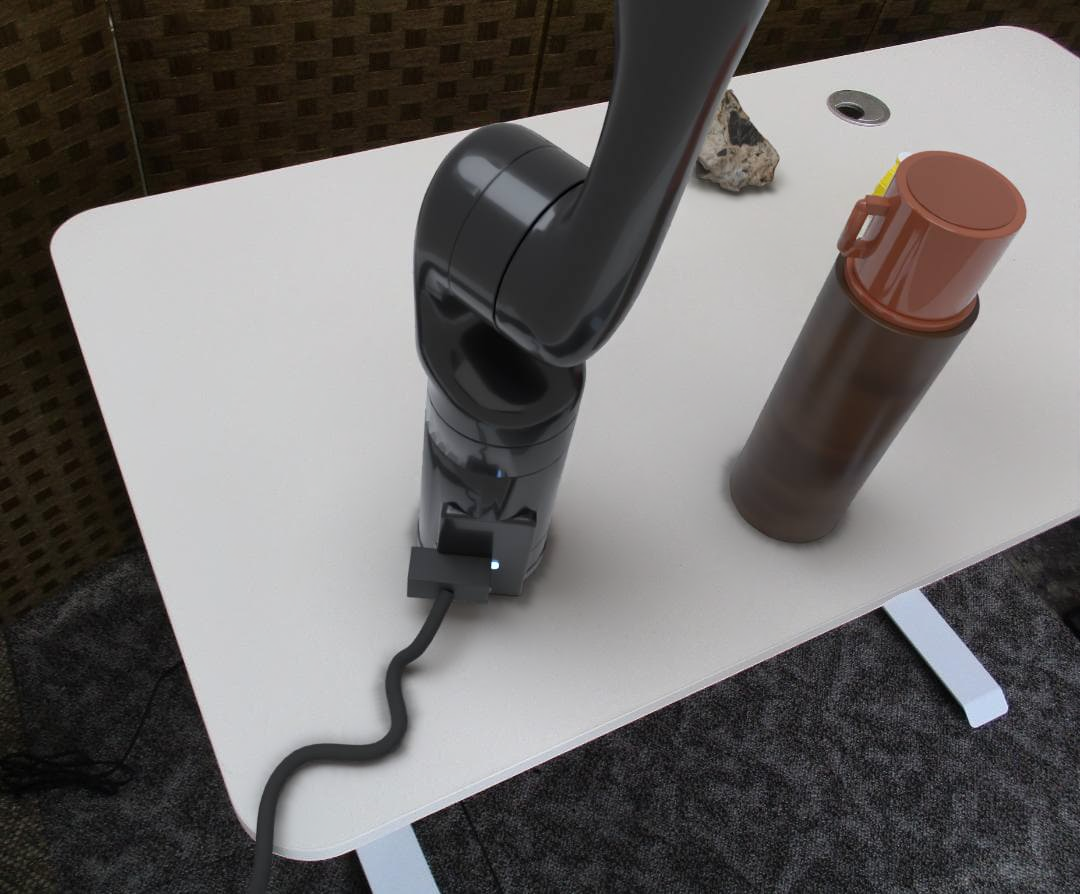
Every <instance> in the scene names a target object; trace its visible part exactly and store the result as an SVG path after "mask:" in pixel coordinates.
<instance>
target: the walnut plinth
mask: <svg viewBox="0 0 1080 894" xmlns="http://www.w3.org/2000/svg"><path fill="white" fill-rule="evenodd" d="M861 238H862V236H861V237H857V238H856V239H857V240H860V239H861ZM845 259H846V257H843V256H842V253H841V252H840V251H839V252H838V255H837V256H836V258H835V261H834V262H833V265H832V267H831V268H830V270H829V273H828V275H827V277H826V279H825V281H824V283H823V285H822V286H821V289H820V291H819V293H818V295H817V297H816V299H815V302H814V304H813V305H812V307H811V309H810V311H809V314H808V316H807V317H806V320H805V321H804V324H803V326H802V327H801V330H800V332H799V334H798V336H797V338H796V340H795V342H794V344H793V346H792V349H791V350H790V352H789V354H788V356H787V358H786V360H785V362H784V365H783V366H782V368H781V370H780V373H779V374H778V377H777V379H776V380H775V383H774V385H773V387H772V389H771V391H770V393H769V394H768V397H767V399H766V401H765V403H764V405H763V407H762V410H761V411H760V413H759V415H758V418H757V420H756V421H755V423H754V426H753V427H752V430H751V432H750V434H749V436H748V437H747V440H746V442H745V444H744V445H743V448H742V450H741V452H740V454H739V456H738V458H737V460H736V462H735V464H734V467H733V468H732V470H731V474H730V477H729V491H730V494H731V495H730V496H731V498H732V502H733V504H734V506H735V507H736V509H737V510H738V512H739V513H740V515H741V516H742V517H743V519H744V520H745V521H746V522H747V523H749V525H751V526H752V527H753V528H754V529H756V530H758V531H759V532H761V533H762V534H764V535H766V536H768V537H770V538H773V539H776V540H778V541H783V542H787V543H795V544H796V543H798V544H799V543H809V542H814V541H816V540H819V539H821V538H823V537H825V536H826V535H827V534H829V533H830V532H831V531H832V530H833V529H834V528H835V527H836V526H837V524H838V522H839V521H840V520H841V518H842V517H843V515H844V513H845V512H846V511H847V509H848V508H849V506H851V504H852V502H853V501H854V499H855V498H856V496H857V495H858V494H859V492H860V491H861V489H862V487H863V486H864V485H865V483H866V481H867V480H869V478H870V476H871V474H872V473H873V471H874V470H875V468H876V467H877V465H878V464H879V463H880V461H881V460H882V458H883V457H884V455H885V454H886V453H887V451H888V450H889V448H890V447H891V445H892V444H893V442H894V441H895V440H896V438H897V437H898V435H899V433H900V432H901V430H902V429H903V428H904V426H905V425H906V423H907V422H908V421H909V420H910V418H911V416H912V415H913V413H915V411H916V409H917V407H918V406H919V404H920V403H921V401H922V400H923V399H924V397H925V395H927V393H928V392H929V390H930V388H931V387H932V386H933V384H934V383H935V381H936V379H937V378H938V377H939V375H941V373H942V371H943V369H945V367H946V365H947V364H948V362H949V361H950V360H951V358H952V356H953V355H954V353H955V352H956V351H957V349H958V347H960V345H961V343H962V342H963V340H964V339H965V337H966V336H967V335H968V333H969V332H970V331H971V329H972V328H973V326H974V324H975V323H976V321H977V320H978V317H979V315H980V309H981V303H980V296H979V292H978V293H977V298H976V304H975V306H974V308H973V310H972V312H971V313H970V315H969V316H968V318H967V319H966V320H965V321H964V322H963V323H961V324H960V325H958V326H956V327H954V328H952V329H949V330H945V331H939V332H921V331H915V330H910V329H906V328H902V327H900V326H897V325H894V324H892V323H890V322H887V321H885V320H884V319H882V318H880V317H878V316H877V315H875V314H874V313H872V312H871V311H870V310H868V309H867V308H866V307H865V306H863V305H862V304H861V303H860V302H859V301H858V299H857V298H856V297H855V296H854V295H853V293H852V292H851V290H850V289H849V287H848V284H847V282H846V279H845V276H844V263H845Z"/></svg>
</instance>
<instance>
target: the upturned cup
mask: <svg viewBox="0 0 1080 894" xmlns="http://www.w3.org/2000/svg"><path fill="white" fill-rule="evenodd" d="M868 216H871V219H870V220H869V222H868V225H867V227H866V229H865V230H864V233H863V234H862V236H861V237H862V238H861V237H860V238H861V239H860V240H857V239H858V236H859V235H860V232H861V230H862V228H863V226H864V224H865V222H866V221H867V219H868ZM1026 219H1027V205H1026V202H1025V199H1024V197H1023V195H1022V193H1021V192H1020V190H1019V189H1018V188H1017V186H1016V185H1015V184H1014V183H1013V182H1012V181H1011V180H1010V179H1009V178H1008V177H1006V176H1005V175H1004V174H1003V173H1002V172H1000V171H998V170H997V169H996V168H994V167H993V166H991V165H989V164H987V163H985V162H983V161H981V160H978V159H976V158H974V157H972V156H968V155H965V154H962V153H957V152H954V151H946V150H924V151H918V152H916V153H913V154H912V155H910V156H908V157H907V158H905V159H904V160H903V161H902V162H901V163H900V164H899V165H898V167H897V169H896V171H895V173H894V175H893V177H892V179H891V181H890V183H889V185H888V187H887V189H886V191H885V193H884V195H883V197H882V196H874V195H872V194H865V196H864V198H861V199H858V200H857V201H856V202H855V204H854V206H853V208H852V210H851V212H850V214H849V217H848V218H847V220H846V223H845V225H844V227H843V229H842V231H841V233H840V235H839V238H838V239H837V242H836V249H837V250H838V252H839V253H840V252H841V253H842V256H843V257H846V259H845V263H844V276H845V279H846V282H847V284H848V287H849V289H850V290H851V292H852V293H853V295H854V296H855V297H856V298H857V299H858V301H859V302H860V303H861V304H862V305H863V306H865V307H866V308H867V309H868V310H870V311H871V312H872V313H874V314H875V315H877V316H878V317H880V318H882V319H884V320H885V321H887V322H890V323H892V324H894V325H897V326H900V327H902V328H906V329H910V330H915V331H921V332H939V331H945V330H949V329H952V328H954V327H956V326H958V325H960V324H961V323H963V322H964V321H965V320H966V319H967V318H968V316H969V315H970V313H971V312H972V310H973V308H974V306H975V304H976V298H977V293H978V294H979V292H980V291H981V289H982V287H983V286H984V284H985V283H986V281H987V280H988V278H989V277H990V275H991V274H992V272H993V270H994V269H995V268H996V266H997V265H998V263H999V262H1000V260H1001V259H1002V257H1003V256H1004V255H1005V253H1006V251H1007V250H1008V248H1009V247H1010V245H1011V244H1012V242H1013V241H1014V239H1015V238H1016V236H1017V235H1018V233H1019V232H1020V230H1021V229H1022V227H1023V226H1024V225H1025V222H1026Z"/></svg>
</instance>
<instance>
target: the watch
mask: <svg viewBox="0 0 1080 894" xmlns="http://www.w3.org/2000/svg"><path fill="white" fill-rule="evenodd" d="M912 154H914V153H913V152H910V151H903V152H900V153H899V154H898V155H897V157H896V159H895V165H894V166H892V167H891V168H890V169H889V170H888V171H887V172H886V173H885V174H884V175H883V176H882V178H881V179H880V180H879V182H878V183H877V185H876V186H875V189H874V190H873V192H872V194H871V195H874V196H882V197H883V195H884V193H885V191H886V189H887V187H888V185H889V183H890V181H891V179H892V177H893V175H894V173H895V171H896V169H897V167H898V165H899V164H900V163H901V162H902V161H903V160H904V159H905V158H907V157H908V156H910V155H912Z"/></svg>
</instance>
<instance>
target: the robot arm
mask: <svg viewBox="0 0 1080 894" xmlns="http://www.w3.org/2000/svg"><path fill="white" fill-rule="evenodd" d="M612 1H613V2H612V3H613V23H614V57H613V58H614V61H613V71H612V72H613V73H612V81H611V88H610V94H609V98H608V102H607V108H606V112H605V115H604V118H603V119H604V120H603V123H602V128H601V130H600V134H599V137H598V140H597V144H596V147H595V149H594V154H593V156H592V159H591V162H590V164H589V166H588V165H586V164H584V163H583V162H582V161H580V160H578V159H577V158H575V157H574V156H573V155H571V154H569V153H568V152H566V151H565V150H563V148H561V147H559V146H558V145H557V144H554V143H553V142H552V141H550V140H548V139H547V138H545V137H544V136H542V135H541V134H539V133H537V132H536V131H534V130H533V129H531V128H528V127H526V126H524V125H522V124H518V123H512V122H506V121H505V122H495V123H490V124H487V125H483V126H481V127H479V128H478V129H475V130H473V131H472V132H470V133H469V134H467V135H466V136H465V137H463V138H462V139H461V140H460V141H458V143H457V144H455V145H454V147H452V148H451V150H450V151H448V153H447V154H446V155H445V156H444V158H443V159H442V160H441V162H440V163H439V165H438V167H437V169H435V172H434V174H433V176H432V178H431V180H430V182H429V183H428V186H427V188H426V190H425V193H424V196H423V199H422V201H421V204H420V209H419V211H418V216H417V221H416V225H415V230H414V238H413V251H412V288H413V311H414V341H415V350H416V354H417V358H418V361H419V363H420V366H421V368H422V370H423V372H424V374H425V375H426V395H425V396H426V397H425V409H424V425H423V426H424V427H423V428H424V429H423V443H422V463H421V477H420V478H421V479H420V480H421V481H420V496H419V497H420V498H419V516H418V520H417V526H416V527H417V528H416V541H417V546H415V545H413V546H411V547H410V557H409V563H408V571H407V572H408V573H407V582H406V598H413V599H414V598H415V599H427V600H434V603H433V604H432V606H431V608H430V611H429V613H428V614H427V617H426V619H425V621H424V623H423V625H422V627H421V629H420V630H419V632H418V633H417V635H416V636H415V638H414V639H413V640H412V642H411V643H410V644H409V645H407V646H406V647H404V648H403V649H402V650H400V651H398V652H397V653H396V654H395V655H394V656H393V657H392V659H391V660H390V662H389V664H388V667H387V670H386V673H385V679H384V681H385V683H384V685H385V694H386V700H387V703H388V707H389V712H390V718H391V725H390V728H389V731H388V732H387V733H386V734H385V735H384V736H383V737H382V738H381V739H379V740H377V741H375V742H372V743H368V744H367V743H366V744H347V743H335V742H334V743H331V742H329V743H328V742H324V743H323V742H321V743H313V744H309V745H308V744H307V745H304V746H302V747H300V748H297V749H295V750H293V751H292V752H291V753H289V754H288V755H287V756H286V757H284V758H283V759H282V761H280V763H278V765H277V766H276V767H275V768H274V770H273V771H272V773H271V774H270V776H269V778H268V780H267V782H266V784H265V786H264V789H263V791H262V794H261V796H260V801H259V805H258V809H257V810H258V811H257V818H256V829H255V843H254V844H255V845H254V857H253V866H252V872H251V876H250V882H249V885H248V890H247V894H267V890H268V886H269V881H270V875H271V870H272V862H273V853H274V835H275V834H274V832H275V821H276V819H275V818H276V811H277V806H278V805H277V804H278V800H279V797H280V795H281V792H282V789H283V787H284V785H285V784H286V783H287V781H288V779H290V777H291V776H292V775H293V774H294V773H295V772H296V770H298V769H299V768H301V767H302V766H304V765H307V764H308V763H312V762H317V761H336V762H354V763H355V762H357V763H358V762H362V763H363V762H370V761H375V760H379V759H381V758H383V757H385V756H387V755H388V754H390V753H391V752H393V751H394V750H395V749H396V748H397V747H398V746H399V745H400V743H401V741H402V740H403V739H404V736H405V735H406V731H407V728H408V712H407V707H406V703H405V699H404V695H403V691H402V676H403V672H404V670H405V669H406V667H407V666H408V665H409V664H411V663H412V662H415V661H416V660H417V659H419V658H420V657H421V656H422V655H423V654H424V653H425V652H426V650H427V649H428V648H429V646H430V645H431V643H432V642H433V640H434V638H435V637H436V635H437V633H438V630H439V629H440V628H441V625H442V623H443V621H444V619H445V617H446V614H447V612H448V610H449V608H450V606H451V604H452V602H460V603H470V604H480V605H487V604H488V600H489V597H490V596H489V595H490V594H496V595H507V596H521V595H522V591H523V589H524V588H523V587H524V582H525V580H527V579H528V578H529V577H531V575H532V574H533V573H534V572H536V570H537V568H538V567H539V565H540V563H541V562H542V559H543V557H544V554H545V550H546V547H547V539H548V532H549V528H550V525H551V520H552V516H553V512H554V508H555V506H556V505H555V504H556V500H557V496H558V493H559V488H560V484H561V481H562V476H563V473H564V469H565V466H566V462H567V458H568V454H569V450H570V449H569V448H570V445H571V442H572V439H573V434H574V431H575V426H576V424H577V418H578V415H579V412H580V407H581V403H582V399H583V395H584V392H585V387H586V382H587V360H589V359H591V358H592V357H593V356H595V354H597V353H598V351H600V350H601V349H602V348H603V347H604V346H605V345H606V344H607V343H608V342H609V341H610V340H611V338H612V337H613V335H614V334H615V333H616V332H617V330H618V329H619V328H620V326H621V325H622V324H623V322H624V321H625V319H626V317H628V315H629V313H630V311H631V309H632V308H633V306H634V305H635V303H636V301H637V299H638V298H639V296H640V294H641V293H642V290H643V288H644V287H645V284H646V283H647V280H648V278H649V276H650V274H651V272H652V269H653V267H654V266H655V263H656V261H657V258H658V255H659V254H660V251H661V249H662V247H663V244H664V242H665V239H666V237H667V235H668V232H669V230H670V227H671V226H672V223H673V220H674V218H675V216H676V213H677V210H678V207H679V205H680V203H681V201H682V197H683V195H684V193H685V190H686V188H687V185H688V183H689V180H690V179H691V176H692V173H693V170H694V169H695V167H694V166H695V163H696V161H697V158H698V156H699V154H700V151H701V149H702V146H703V144H704V142H705V139H706V137H707V134H708V132H709V130H710V127H711V125H712V122H713V120H714V118H715V115H716V113H717V110H718V108H719V106H720V103H721V101H722V99H723V97H724V94H725V92H726V90H728V88H729V85H730V82H731V81H732V79H733V76H734V74H735V72H736V70H737V68H738V66H739V64H740V62H741V59H743V56H744V54H745V51H746V50H747V47H748V46H749V43H750V42H751V39H752V37H753V35H754V33H755V31H756V29H757V27H758V25H759V23H760V21H761V19H762V16H763V15H764V13H765V11H766V10H767V9H766V8H767V7H768V5H769V3H770V1H771V0H612Z"/></svg>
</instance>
